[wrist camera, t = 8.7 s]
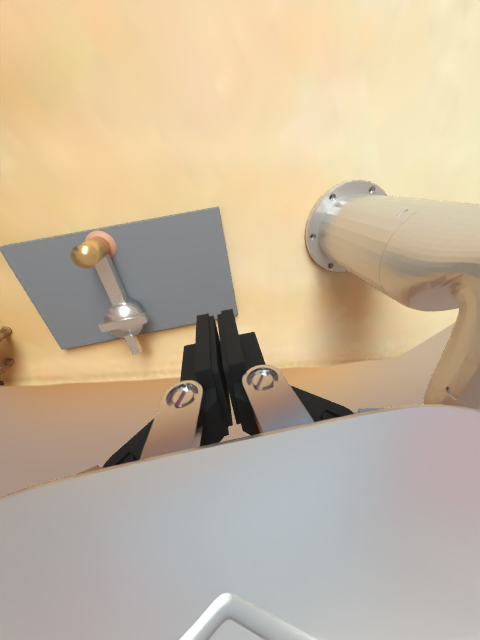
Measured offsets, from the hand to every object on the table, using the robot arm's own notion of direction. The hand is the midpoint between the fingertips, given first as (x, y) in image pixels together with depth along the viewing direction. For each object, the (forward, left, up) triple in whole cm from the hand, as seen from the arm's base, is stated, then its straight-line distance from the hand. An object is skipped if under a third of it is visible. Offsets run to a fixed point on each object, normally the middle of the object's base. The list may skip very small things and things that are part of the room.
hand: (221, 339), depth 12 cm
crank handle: (+14, +6, -26) cm, 30 cm away
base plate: (+12, +5, -27) cm, 30 cm away
